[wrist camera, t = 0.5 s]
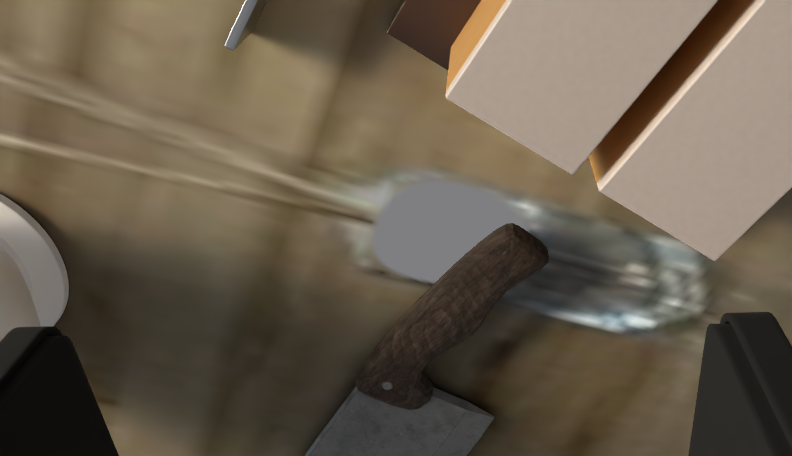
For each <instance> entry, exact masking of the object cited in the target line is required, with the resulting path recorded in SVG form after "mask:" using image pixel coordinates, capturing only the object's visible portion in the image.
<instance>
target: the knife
mask: <svg viewBox="0 0 792 456" xmlns="http://www.w3.org/2000/svg"><path fill="white" fill-rule="evenodd" d="M265 2H266V0H245V2H244V4H243V6H242V8H241V10H240V12H239V15H238V17H237V19H236V21H235V23H234V25H233V27H232V30H231V32H230V34H229V36H228V38H227V40H226V43H225V45H224V46H225V47H227V48H229V49H230V50H232V51H234V50H235V49H236V48H237V47H238V46H239V45H240V44H241V43H242V42H243V41H244V40H245V39H246V38H247V36H248V35H249V34H250V33H251V32H252V29H253V27H254V25H255V23H256V21H257V19H258V17H259V15H260V13H261V11H262V9H263V7H264V5H265Z"/></svg>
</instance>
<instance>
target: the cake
mask: <svg viewBox="0 0 792 456" xmlns="http://www.w3.org/2000/svg"><path fill="white" fill-rule="evenodd" d="M446 98H447V99H448V100H450V101H451V102H453V103H455V104H456V105H458V106H460V107H461V108H463V109H465V110H466V111H468V112H469V113H471V114H473V115H474V116H476V117H478V118H479V119H481V120H483V121H484V122H486V123H488V124H489V125H491V126H493V127H494V128H496V129H497V130H499V131H501V132H502V133H504V134H506V135H507V136H509V137H511V138H512V139H514V140H516V141H517V142H519V143H521V144H522V145H524V146H526V147H527V148H529V149H530V150H532V151H534V152H535V153H537V154H539V155H540V156H542V157H544V158H545V159H547V160H549V161H550V162H552V163H554V164H555V165H557V166H558V167H560V168H562V169H563V170H565V171H567V172H568V173H570V174H572V175H573V174H574V173H575V172H576V171H577V170H578V169H579V167H580V166H581V165H582V164H583V163H584V161H585V160H586V159H587V158H588V157H589V160H590V163H591V167H592V170H593V173H594V176H595V180H596V182H597V186H598V189H599V191H600V192H601V193H603V194H605V195H606V196H608V197H610V198H611V199H613V200H615V201H616V202H618V203H619V204H621V205H623V206H624V207H626V208H628V209H629V210H631V211H633V212H634V213H636V214H638V215H639V216H641V217H643V218H644V219H646V220H647V221H649V222H651V223H652V224H654V225H656V226H657V227H659V228H661V229H662V230H664V231H666V232H667V233H669V234H671V235H672V236H674V237H676V238H677V239H679V240H680V241H682V242H684V243H685V244H687V245H689V246H690V247H692V248H694V249H695V250H697V251H699V252H700V253H702V254H704V255H705V256H707V257H708V258H710V259H712V260H714V261H716V260H717V259H718V258H719V257H720V256H721V255H722V254H723V253H724V252H726V251H727V250H728V249H729V248H730V247H731V246H732V245H733V244H734V243H735V242H736V241H737V240H738V239H739V238H740V237H741V236H742V235H743V234H744V233H745V232H746V231H747V230H748V229H749V228H750V227H751V226H752V225H753V224H755V223H756V222H757V221H758V220H759V219H760V218H761V217H762V216H763V215H764V214H765V213H766V212H767V211H768V210H769V209H770V208H771V207H772V206H773V205H774V204H775V203H776V202H777V201H778V200H779V199H780V198H781V197H783V196H784V195H785V194H786V193H787V192H788V191H789V190H790V189H791V188H792V0H481V2H480V3H479V5H478V6H477V8H476V9H475V11H474V12H473V14H472V16H471V17H470V19H469V20H468V22H467V23H466V25H465V26H464V28H463V29H462V31H461V32H460V34H459V36H458V37H457V39H456V40H455V42H454V43H453V45H452V46H451V51H450V60H449V69H448V78H447V87H446Z"/></svg>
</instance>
